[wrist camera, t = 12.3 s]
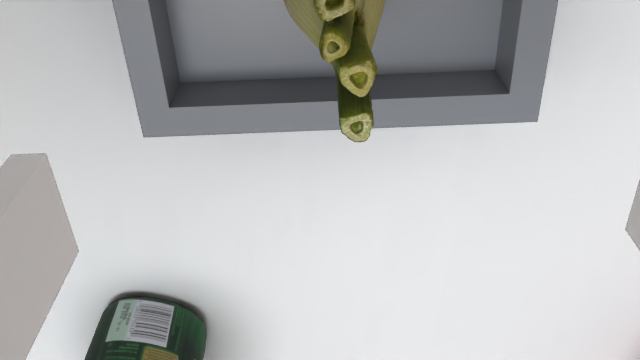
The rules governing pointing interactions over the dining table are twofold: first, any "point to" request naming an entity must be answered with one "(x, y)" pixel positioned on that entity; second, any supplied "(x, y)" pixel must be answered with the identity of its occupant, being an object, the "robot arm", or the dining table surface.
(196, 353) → the coffee jar
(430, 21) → the bin
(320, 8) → the fennel bulb
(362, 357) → the dining table surface
